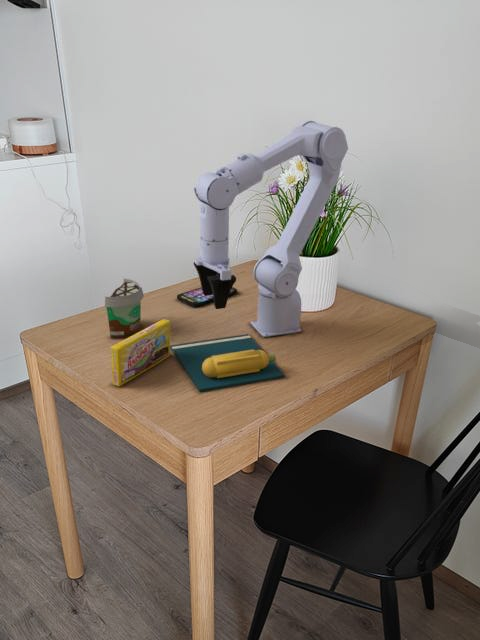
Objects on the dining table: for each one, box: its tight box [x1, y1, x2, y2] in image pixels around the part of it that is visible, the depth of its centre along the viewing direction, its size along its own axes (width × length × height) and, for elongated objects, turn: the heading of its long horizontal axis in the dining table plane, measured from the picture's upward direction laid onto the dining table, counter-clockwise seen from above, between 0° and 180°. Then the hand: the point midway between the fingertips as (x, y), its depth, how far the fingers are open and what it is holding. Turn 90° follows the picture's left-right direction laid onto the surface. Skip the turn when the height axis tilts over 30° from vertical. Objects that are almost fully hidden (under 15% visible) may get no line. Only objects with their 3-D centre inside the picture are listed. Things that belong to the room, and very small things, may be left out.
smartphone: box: [176, 286, 238, 308], centre depth 161 cm, size 8×1×15 cm
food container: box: [104, 278, 144, 339], centre depth 140 cm, size 12×6×10 cm, turn 168°
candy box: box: [110, 318, 171, 388], centre depth 125 cm, size 16×2×8 cm, turn 148°
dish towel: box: [170, 333, 286, 393], centre depth 131 cm, size 18×20×1 cm
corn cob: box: [202, 349, 277, 378], centre depth 126 cm, size 4×15×4 cm, turn 111°
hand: (214, 301), depth 134 cm, fingers open, 7 cm apart
